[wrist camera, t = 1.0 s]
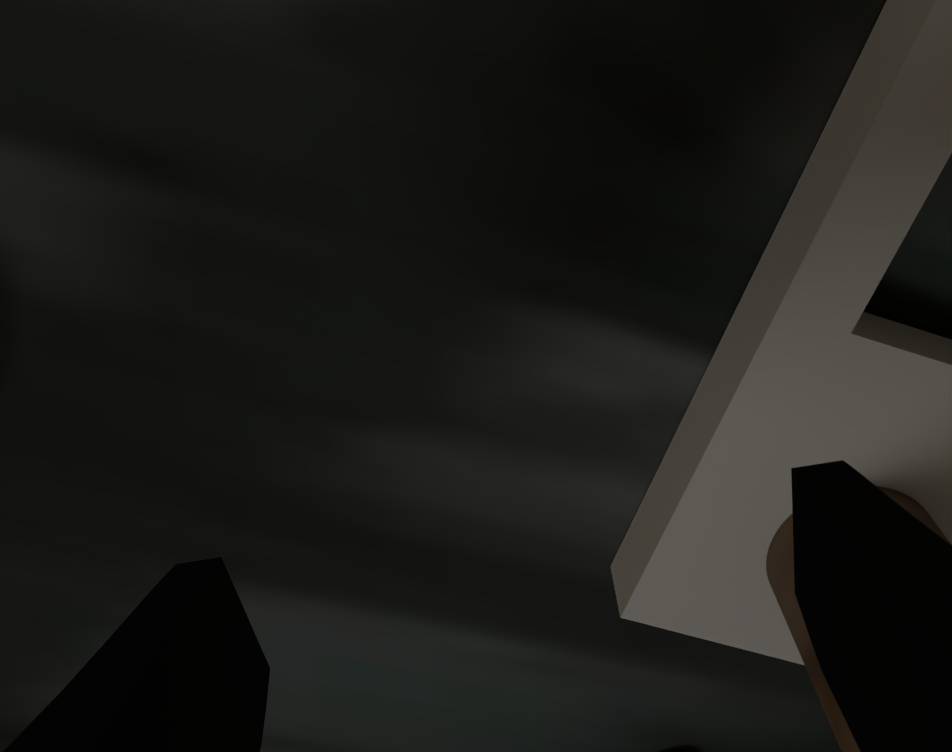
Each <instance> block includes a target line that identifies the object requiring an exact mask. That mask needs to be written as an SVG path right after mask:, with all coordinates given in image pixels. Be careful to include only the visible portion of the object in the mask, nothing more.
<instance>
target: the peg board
mask: <svg viewBox="0 0 952 752" xmlns="http://www.w3.org/2000/svg"><path fill="white" fill-rule="evenodd" d="M951 153H952V0H887V1H886V3H885V5H884V7H883V9H882V11H881V13H880V15H879V17H878V19H877V21H876V23H875V25H874V27H873V29H872V31H871V34H870V36H869V38H868V40H867V42H866V44H865V46H864V48H863V50H862V52H861V54H860V56H859V58H858V60H857V62H856V64H855V66H854V68H853V70H852V72H851V74H850V77H849V79H848V81H847V83H846V85H845V87H844V89H843V91H842V93H841V95H840V97H839V99H838V101H837V103H836V105H835V107H834V109H833V111H832V113H831V115H830V118H829V120H828V122H827V124H826V126H825V128H824V130H823V132H822V134H821V136H820V138H819V140H818V142H817V144H816V146H815V148H814V150H813V152H812V154H811V156H810V158H809V161H808V163H807V165H806V167H805V169H804V171H803V173H802V175H801V177H800V179H799V181H798V183H797V185H796V187H795V189H794V191H793V193H792V195H791V197H790V199H789V201H788V204H787V206H786V208H785V210H784V212H783V214H782V216H781V218H780V220H779V222H778V224H777V226H776V228H775V230H774V232H773V234H772V236H771V238H770V240H769V242H768V244H767V247H766V249H765V251H764V253H763V255H762V257H761V259H760V261H759V263H758V265H757V267H756V269H755V271H754V273H753V275H752V277H751V279H750V281H749V283H748V285H747V287H746V290H745V292H744V294H743V296H742V298H741V300H740V302H739V304H738V306H737V308H736V310H735V312H734V314H733V316H732V318H731V320H730V322H729V324H728V326H727V328H726V331H725V333H724V335H723V337H722V339H721V341H720V343H719V345H718V347H717V349H716V351H715V353H714V355H713V357H712V359H711V361H710V363H709V365H708V367H707V369H706V371H705V374H704V376H703V378H702V380H701V382H700V384H699V386H698V388H697V390H696V392H695V394H694V396H693V398H692V400H691V402H690V404H689V406H688V408H687V410H686V412H685V414H684V417H683V419H682V421H681V423H680V425H679V427H678V429H677V431H676V433H675V435H674V437H673V439H672V441H671V443H670V445H669V447H668V449H667V451H666V453H665V455H664V457H663V460H662V462H661V464H660V466H659V468H658V470H657V472H656V474H655V476H654V478H653V480H652V482H651V484H650V486H649V488H648V490H647V492H646V494H645V496H644V498H643V500H642V503H641V505H640V507H639V509H638V511H637V513H636V515H635V517H634V519H633V521H632V523H631V525H630V527H629V529H628V531H627V533H626V535H625V537H624V539H623V541H622V544H621V546H620V548H619V550H618V552H617V554H616V556H615V558H614V560H613V562H612V564H611V566H610V567H611V572H612V577H613V582H614V587H615V592H616V597H617V603H618V608H619V613H620V618H624V619H628V620H632V621H636V622H639V623H643V624H647V625H651V626H655V627H659V628H663V629H667V630H670V631H674V632H678V633H682V634H686V635H690V636H694V637H698V638H701V639H705V640H709V641H713V642H717V643H721V644H725V645H729V646H732V647H736V648H740V649H744V650H748V651H752V652H756V653H760V654H763V655H767V656H771V657H775V658H779V659H783V660H787V661H791V662H794V663H798V664H802V665H804V662H803V660H802V658H801V655H800V653H799V651H798V648H797V646H796V644H795V641H794V639H793V637H792V634H791V632H790V630H789V627H788V625H787V623H786V620H785V618H784V616H783V613H782V611H781V609H780V606H779V604H778V602H777V599H776V597H775V595H774V592H773V590H772V588H771V585H770V583H769V580H768V577H767V572H766V558H767V553H768V549H769V546H770V543H771V541H772V538H773V537H774V535H775V533H776V532H777V530H778V529H779V527H780V526H781V525H782V523H783V522H784V521H785V520H786V519H787V518H788V517H789V516H790V515H791V514H792V513H793V512H792V476H791V468H796V467H802V466H809V465H815V464H821V463H828V462H834V461H841V460H843V461H845V462H846V463H848V464H849V465H850V466H852V467H853V468H854V469H855V470H857V471H858V472H859V473H861V474H862V475H863V476H864V477H866V478H867V479H868V480H869V481H870V482H872V483H873V484H874V485H875V486H879V487H885V488H890V489H893V490H897V491H900V492H902V493H904V494H906V495H908V496H910V497H911V498H913V499H915V500H916V501H917V502H918V503H919V504H921V505H922V506H923V507H924V509H925V510H926V511H927V512H928V513H929V515H930V516H931V518H932V519H933V520H934V522H935V523H936V524H937V526H938V527H939V528H940V530H941V531H942V532H943V534H944V535H945V536H946V538H947V539H948V540H949V542H950V543H951V544H952V340H951V339H948V338H945V337H942V336H939V335H935V334H932V333H929V332H926V331H923V330H920V329H916V328H913V327H910V326H907V325H904V324H901V323H898V322H894V321H891V320H888V319H885V318H882V317H879V316H876V315H872V314H869V313H866V312H863V311H864V309H865V307H866V306H867V304H868V302H869V300H870V298H871V297H872V295H873V293H874V291H875V290H876V288H877V286H878V284H879V282H880V281H881V279H882V277H883V275H884V273H885V272H886V270H887V268H888V266H889V264H890V263H891V261H892V259H893V257H894V255H895V254H896V252H897V250H898V248H899V247H900V245H901V243H902V241H903V239H904V238H905V236H906V234H907V232H908V230H909V229H910V227H911V225H912V223H913V221H914V220H915V218H916V216H917V214H918V212H919V211H920V209H921V207H922V205H923V204H924V202H925V200H926V198H927V196H928V195H929V193H930V191H931V189H932V187H933V186H934V184H935V182H936V180H937V178H938V177H939V175H940V173H941V171H942V169H943V168H944V166H945V164H946V162H947V161H948V159H949V157H950V155H951Z"/></svg>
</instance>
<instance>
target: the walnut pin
mask: <svg viewBox="0 0 952 752" xmlns="http://www.w3.org/2000/svg"><path fill="white" fill-rule="evenodd" d="M877 487H878V488H879V489H880V490H882V491H883V492H884V493H885V494H887V495H888V496H889V497H890V498H892V499H893V500H894V501H895V502H897V503H898V504H899V505H900V506H902V507H903V508H904V509H905V510H907V511H908V512H909V513H911V514H912V515H913V516H914V517H916V518H917V519H918V520H919V521H921V522H922V523H923V524H925V525H926V526H927V527H928V528H930V529H931V530H932V531H934V532H935V533H936V534H938V535H939V536H940V537H941V538H943V539H944V540H945V541H947V542H948V543H949V544H951V543H950V542H949V540H948V539H947V538H946V536H945V535H944V534H943V532H942V531H941V530H940V528H939V527H938V526H937V524H936V523H935V522H934V520H933V519H932V518H931V516H930V515H929V513H928V512H927V511H926V510H925V509H924V507H923V506H922V505H921V504H919V503H918V502H917V501H916V500H915V499H913V498H911V497H910V496H908V495H906V494H904V493H902V492H900V491H897V490H893V489H890V488H885V487H879V486H877ZM951 545H952V544H951ZM766 572H767V577H768V580H769V583H770V585H771V588H772V590H773V592H774V595H775V597H776V599H777V602H778V604H779V606H780V609H781V611H782V613H783V616H784V618H785V620H786V623H787V625H788V627H789V630H790V632H791V634H792V637H793V639H794V641H795V644H796V646H797V648H798V651H799V653H800V655H801V658H802V660H803V662H804V665H805V667H806V669H807V672H808V674H809V676H810V679H811V681H812V683H813V686H814V688H815V690H816V693H817V695H818V697H819V700H820V702H821V704H822V707H823V709H824V711H825V714H826V716H827V718H828V721H829V723H830V725H831V728H832V730H833V732H834V735H835V737H836V739H837V742H838V744H839V746H840V749H841V751H842V752H861V751H860V749H859V747H858V745H857V743H856V741H855V739H854V737H853V735H852V733H851V731H850V729H849V727H848V725H847V723H846V721H845V719H844V716H843V714H842V712H841V710H840V708H839V706H838V704H837V702H836V700H835V698H834V696H833V694H832V691H831V689H830V687H829V685H828V683H827V681H826V679H825V677H824V675H823V672H822V670H821V668H820V665H819V662H818V660H817V657H816V654H815V651H814V648H813V645H812V643H811V640H810V637H809V634H808V631H807V628H806V625H805V622H804V619H803V616H802V613H801V610H800V607H799V604H798V601H797V598H796V595H795V584H794V548H793V513H792V514H791V515H790V516H789V517H788V518H787V519H786V520H785V521H784V522H783V523H782V525H781V526H780V527H779V529H778V530H777V532H776V533H775V535H774V537H773V538H772V541H771V543H770V546H769V549H768V553H767V558H766Z"/></svg>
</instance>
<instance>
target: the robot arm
mask: <svg viewBox="0 0 952 752" xmlns="http://www.w3.org/2000/svg"><path fill="white" fill-rule="evenodd" d="M791 476H792V512H793V548H794V584H795V595H796V598H797V601H798V604H799V607H800V610H801V613H802V616H803V619H804V622H805V625H806V628H807V631H808V634H809V637H810V640H811V643H812V645H813V648H814V651H815V654H816V657H817V660H818V662H819V665H820V668H821V670H822V672H823V675H824V677H825V679H826V681H827V683H828V685H829V687H830V689H831V691H832V694H833V696H834V698H835V700H836V702H837V704H838V706H839V708H840V710H841V712H842V714H843V716H844V719H845V721H846V723H847V725H848V727H849V729H850V731H851V733H852V735H853V737H854V739H855V741H856V743H857V745H858V747H859V749H860V751H861V752H952V545H951V544H949V543H948V542H947V541H945V540H944V539H943V538H941V537H940V536H939V535H938V534H936V533H935V532H934V531H932V530H931V529H930V528H928V527H927V526H926V525H925V524H923V523H922V522H921V521H919V520H918V519H917V518H916V517H914V516H913V515H912V514H911V513H909V512H908V511H907V510H905V509H904V508H903V507H902V506H900V505H899V504H898V503H897V502H895V501H894V500H893V499H892V498H890V497H889V496H888V495H887V494H885V493H884V492H883V491H882V490H880V489H879V488H878V487H877V486H875V485H874V484H873V483H872V482H870V481H869V480H868V479H867V478H866V477H864V476H863V475H862V474H861V473H859V472H858V471H857V470H855V469H854V468H853V467H852V466H850V465H849V464H848V463H846V462H845V461H843V460H841V461H834V462H828V463H821V464H815V465H809V466H802V467H796V468H791ZM269 673H270V667H269V665H268V663H267V660H266V658H265V656H264V654H263V651H262V649H261V647H260V644H259V642H258V640H257V638H256V635H255V633H254V631H253V629H252V626H251V624H250V622H249V619H248V617H247V615H246V613H245V610H244V608H243V606H242V604H241V601H240V599H239V597H238V594H237V592H236V590H235V588H234V585H233V583H232V581H231V578H230V576H229V574H228V572H227V569H226V567H225V565H224V563H223V560H222V558H221V557H220V558H213V559H207V560H200V561H194V562H188V563H181V564H176V565H175V566H174V567H173V568H172V569H171V570H170V571H169V572H168V573H167V574H166V575H165V576H164V577H163V578H162V580H161V581H160V582H159V583H158V584H157V585H156V586H155V587H154V588H153V589H152V590H151V592H150V593H149V594H148V595H147V596H146V597H145V598H144V599H143V601H142V602H141V603H140V604H139V605H138V606H137V607H136V608H135V610H134V611H133V612H132V613H131V614H130V615H129V616H128V618H127V619H126V620H125V621H124V622H123V623H122V624H121V625H120V627H119V628H118V629H117V630H116V631H115V632H114V633H113V635H112V636H111V637H110V638H109V639H108V640H107V641H106V642H105V644H104V645H103V646H102V647H101V648H100V649H99V650H98V651H97V652H96V654H95V655H94V656H93V657H92V658H91V659H90V660H89V661H88V662H87V664H86V665H85V666H84V667H83V668H82V669H81V670H80V671H79V672H78V674H77V675H76V676H75V677H74V678H73V679H72V680H71V681H70V682H69V684H68V685H67V686H66V687H65V688H64V689H63V690H62V691H61V692H60V693H59V695H58V696H57V697H56V698H55V699H54V700H53V701H52V702H51V703H50V704H49V705H48V706H47V707H46V708H45V709H44V710H43V711H42V712H41V713H40V714H39V715H38V716H37V717H36V718H35V719H34V720H33V721H32V722H31V723H30V724H29V726H28V727H27V728H26V729H25V730H24V731H23V732H22V733H21V734H20V735H19V736H18V737H17V738H16V739H15V740H14V741H13V742H12V743H11V744H10V745H9V746H8V747H7V748H6V749H5V750H4V751H3V752H260V748H261V742H262V735H263V727H264V720H265V712H266V703H267V693H268V683H269Z"/></svg>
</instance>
